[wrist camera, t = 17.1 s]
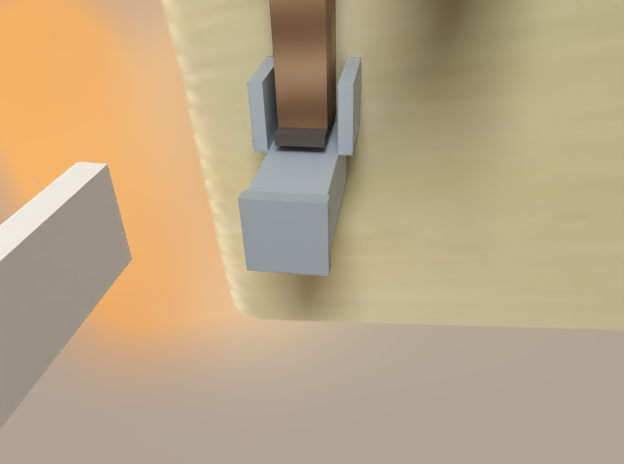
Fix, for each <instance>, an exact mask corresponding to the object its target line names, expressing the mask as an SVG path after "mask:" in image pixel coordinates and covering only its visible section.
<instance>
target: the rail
mask: <svg viewBox="0 0 624 464" xmlns="http://www.w3.org/2000/svg"><path fill="white" fill-rule="evenodd" d="M270 12H271V27H272V42H273V57H274V72H275V87H276V102H277V116H278V128H277V130H276V132H275V134H274V142H275V146H297V147H322V148H325V145H326V142H327V139H328V136H329V133H330V130H331V127H332V124H333V121H334V118H335V114H336V20H335V0H270Z"/></svg>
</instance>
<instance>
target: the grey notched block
mask: <svg viewBox="0 0 624 464" xmlns="http://www.w3.org/2000/svg"><path fill="white" fill-rule="evenodd" d="M360 79H361V58H347V60H346V63H345V65H344V68H343V71H342V74H341V76H340V79H339V82H338V122H333V124H332V127H331V130H330V133H329V136H328V139H327V142H326V145H325V148H322V147H297V146H275V142H274V134H275V132H276V130H277V128H278V116H277V102H276V87H275V72H274V57H269V56H268V57H267V58H266V59H265V60H264V62H263V63H262V64H261V65H260V67H259V68H258V69H257V70H256V72H255V73H254V74H253V76H252V77H251V78H250V79H249V81H248V82H247V84H248V94H249V104H250V115H251V125H252V135H253V145H254V152H268V153H267V155H266V157H265V158H264V160H263V162H262V164H261V166H260V168H259V170H258V172H257V174H256V176H255V178H254V179H253V181H252V183H251V185H250V187H249V189H248V191H242V193H241V195H240V196H239V198H238V201H239V209H240V217H241V225H242V234H243V242H244V250H245V258H246V266H247V270H251V271H264V272H278V273H291V274H305V275H318V276H329V273H330V268H331V247H332V242H333V238H334V233H335V229H336V224H337V220H338V215H339V211H340V206H341V202H342V197H343V192H344V188H345V183H346V179H347V155H353V151H354V146H355V141H356V137H357V132H358V128H359V123H360Z"/></svg>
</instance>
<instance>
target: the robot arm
mask: <svg viewBox="0 0 624 464" xmlns="http://www.w3.org/2000/svg"><path fill="white" fill-rule="evenodd" d="M131 260H132V258H131V254H130V250H129V246H128V242H127V238H126V235H125V231H124V227H123V223H122V219H121V215H120V211H119V207H118V203H117V200H116V196H115V192H114V188H113V184H112V180H111V176H110V172H109V168H108V165H107V164H99V163H84V162H77V163H76V164H75V165H73V166H72V167H71V168H69V169H68V170H67V171H66V172H65V173H63V174H62V175H61V176H60V177H59V178H57V179H56V180H55V181H54V182H52V183H51V184H50V185H49V186H48V187H47V188H45V189H44V190H43V191H42V192H40V193H39V194H38V195H37V196H35V198H33V199H32V200H31V201H29V202H28V203H27V204H26V205H25V206H23V207H22V208H21V209H20V210H18V211H17V212H16V213H15V214H14V215H12V216H11V217H10V218H9V219H7V220H6V221H5V222H4V223H3V224H1V225H0V429H1V428H2V426H3V425H4V424H5V423H6V421H7V420H8V419H9V417H10V416H11V415H12V414H13V412H14V411H15V410H16V408H17V407H18V406H19V405H20V403H21V402H22V401H23V399H24V398H25V397H26V395H27V394H28V393H29V392H30V390H31V389H32V388H33V386H34V385H35V384H36V382H37V381H38V380H39V379H40V377H41V376H42V375H43V373H44V372H45V371H46V369H47V368H48V367H49V366H50V364H51V363H52V362H53V360H54V359H55V358H56V357H57V355H58V354H59V353H60V351H61V350H62V349H63V348H64V346H65V345H66V344H67V342H68V341H69V340H70V339H71V337H72V336H73V334H74V333H75V332H76V331H77V329H78V328H79V327H80V326H81V324H82V323H83V322H84V320H85V319H86V318H87V316H88V315H89V314H90V313H91V311H92V310H93V309H94V307H95V306H96V305H97V304H98V302H99V301H100V300H101V298H102V297H103V295H104V294H105V293H106V292H107V291H108V289H109V288H110V287H111V285H112V284H113V283H114V282H115V280H116V279H117V278H118V276H119V275H120V274H121V272H122V271H123V270H124V268H125V267H126V266H127V265H128V263H129V262H130V261H131Z"/></svg>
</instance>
